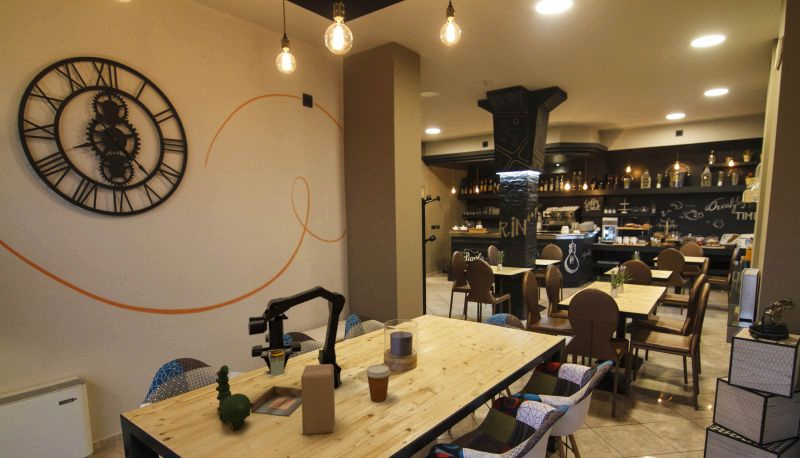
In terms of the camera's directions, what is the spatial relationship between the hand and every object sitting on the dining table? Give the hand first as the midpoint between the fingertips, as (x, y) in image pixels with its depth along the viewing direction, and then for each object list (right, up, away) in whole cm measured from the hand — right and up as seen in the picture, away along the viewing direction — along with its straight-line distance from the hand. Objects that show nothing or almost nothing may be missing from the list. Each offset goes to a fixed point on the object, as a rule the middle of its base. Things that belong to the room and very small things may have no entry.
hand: (277, 369), depth 159 cm
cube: (0, -1, 0) cm, 1 cm away
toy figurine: (-11, -12, -18) cm, 24 cm away
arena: (+4, -11, -7) cm, 14 cm away
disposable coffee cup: (+41, -11, -3) cm, 42 cm away
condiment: (-9, -11, +26) cm, 29 cm away
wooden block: (+21, -12, -23) cm, 33 cm away
